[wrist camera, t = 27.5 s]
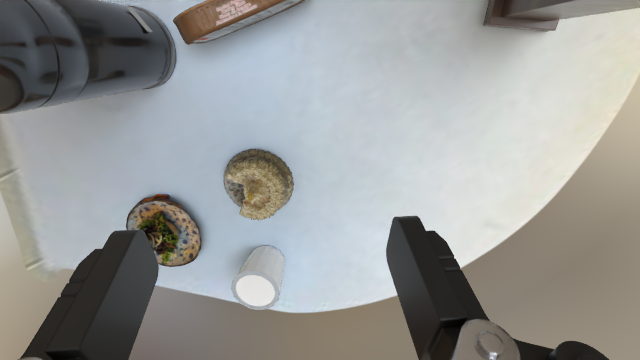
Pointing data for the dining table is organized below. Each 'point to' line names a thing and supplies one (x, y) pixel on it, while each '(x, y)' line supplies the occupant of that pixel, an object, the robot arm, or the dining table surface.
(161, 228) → the burger
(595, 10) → the stand
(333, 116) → the dining table surface
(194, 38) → the tin
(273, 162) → the cake
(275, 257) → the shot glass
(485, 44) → the dining table surface
